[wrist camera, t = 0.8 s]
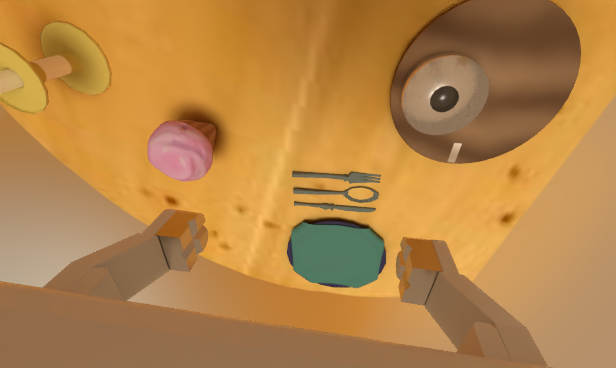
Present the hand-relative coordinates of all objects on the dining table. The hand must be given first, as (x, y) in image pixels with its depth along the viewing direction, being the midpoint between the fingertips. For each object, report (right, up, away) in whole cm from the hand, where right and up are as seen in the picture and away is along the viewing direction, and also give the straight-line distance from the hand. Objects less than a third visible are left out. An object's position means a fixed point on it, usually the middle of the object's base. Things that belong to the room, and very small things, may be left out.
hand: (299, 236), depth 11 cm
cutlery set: (+6, -7, +43) cm, 44 cm away
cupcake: (-17, +11, +33) cm, 38 cm away
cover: (+16, +14, +22) cm, 31 cm away
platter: (+21, +14, +23) cm, 34 cm away
